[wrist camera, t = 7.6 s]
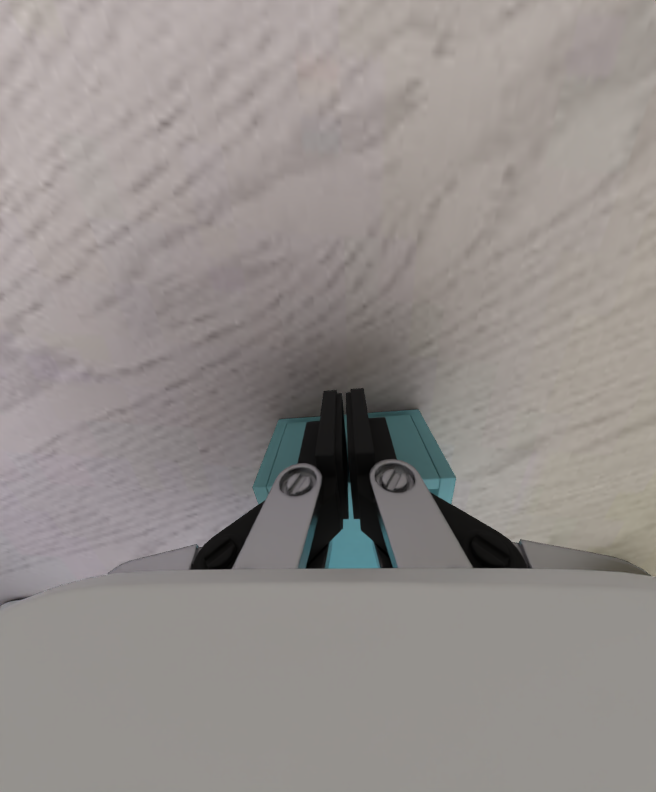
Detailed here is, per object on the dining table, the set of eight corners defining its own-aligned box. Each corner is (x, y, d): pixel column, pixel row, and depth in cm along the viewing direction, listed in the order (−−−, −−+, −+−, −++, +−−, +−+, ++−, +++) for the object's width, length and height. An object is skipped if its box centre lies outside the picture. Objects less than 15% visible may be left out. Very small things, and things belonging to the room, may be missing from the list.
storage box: (278, 418, 14) (251, 487, 10) (418, 408, 14) (457, 477, 9) (317, 580, 23) (312, 656, 18) (405, 579, 22) (422, 658, 18)
